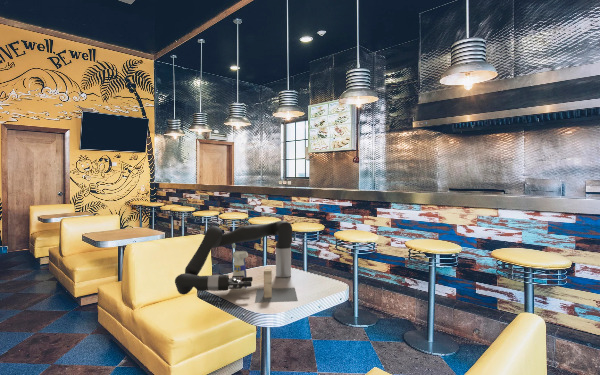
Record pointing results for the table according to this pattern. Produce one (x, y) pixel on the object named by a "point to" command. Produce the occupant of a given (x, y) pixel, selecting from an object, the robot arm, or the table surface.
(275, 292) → the rubber mat
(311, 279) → the table surface
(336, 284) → the table surface
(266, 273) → the tan two-tone tall block
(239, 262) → the water bottle
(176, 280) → the robot arm
